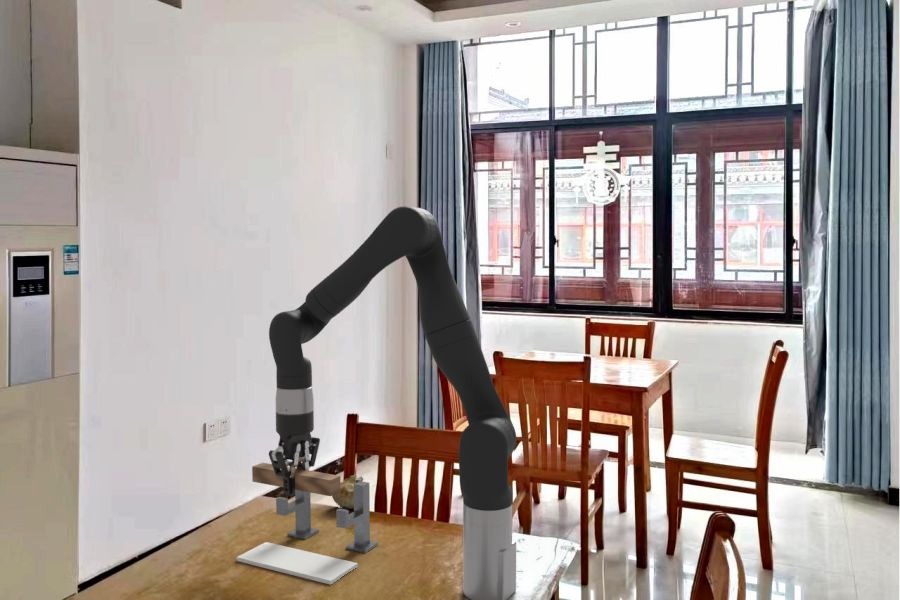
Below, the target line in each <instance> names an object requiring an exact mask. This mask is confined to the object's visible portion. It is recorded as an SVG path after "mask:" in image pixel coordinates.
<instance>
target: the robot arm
mask: <svg viewBox="0 0 900 600" xmlns="http://www.w3.org/2000/svg"><path fill="white" fill-rule="evenodd" d="M438 223H439V222H437V220H436V217H434V215H433V214H432V213H430V211H428V210H427V209H424V208H421V207H417V206H416V207H415V206H410V205H409V206H408V205H403V206H398V207H395V208H394V209H392V210H391V211H390V212H388V213H387V215H386V216H385V217H384V218H383V219H382V220H381V222H380V223H379V224H378V225H377V226H376V227H375V229H374V230H373V231H372V233H371V234H370V235H369V236H368V237H367V238H366V240H365V241H363V243H362V244H361V245H360V246H359V247H358V248H357V249H356V250H355V251H354V252H353V253H352V254H351V255H350V256H349V257H348V258H347V259H346V260H344V262H342V263H341V264H340V265H339V266H338V267H337V268H336V269H334V270H333V271H331V273H329V275H327V276H326V277H325V278H324V279H323V280H321V281H319V283H318V284H316V285H315V286H314V287H313V288H312V289H311V290H310V291H309V292H308V293H307V295H306V296H305V301H304V302H303V303H302V304H301V305H300V306H299V307H297V308H296V309H293V310H287V311H282V312H279V313H277V314H275V315H274V317H273V318H272V320H271V322H270V324H269V329H268V336H269V337H268V339H269V345H270V348H271V352H272V356H273V359H274V363H275V366H276V367H275V368H276V373H275V374H276V377H275V378H276V393H275V431H276V433H277V434H278V435H279V440H278V446H277V448H275V450H272V449H271V450H269V451H268V457H269V460H270V464H272V466H273V469H274V472H275V475H276V476H281V477H283V487H282V488H283V493H284V495H285V496H288V497H293V496H295V478H294V476H295V468H297V469H303V470H309V471H310V468H311V467H314V466H315V464H316V459H317V456H318V452H319V446H320V442H321V439H320V438H319V437H315V436H312V434H311V433H313V431H314V430H315V428H314V427H315V425H314V424H315V421H314V419H315V416H314V415H315V414H314V413H315V412H314V411H315V410H314V393H313V368H312V367H313V366H312V362H311V360H310V359H309V358H308V357H305V356H304V353H303V348H302V345H303V344H306V343H308V342H310V341H311V340H313V339H314V338H316V337H317V336H318V335H319V334H320V333H321V332H322V331H323V330H324V329H325V327H326V326H327V325H328V324H329V323H330V321H331V320H332V319H333V318H335V317H336V316H337V315H339V314H340V313H341V312H343V311H344V310H345V309H346V308H347V307H349V306H350V305H351V304H352V303H353V302H354V301H356V299H357V298H358V297H359V296H360V295H361V294H362V293H363V291H365V290H366V288H367V287H368V285H369V284H370V283H371V282H372V280H373V279H374V278H375V277H376V276H377V275H378V274H379V273H381V272H382V271H383V270H384V269H386V267H388V266H389V265H391V264H393V263H395V262H397V261H398V260H400V259H402V258H403V257H405V258H406V259H407V261H408V262H407V263H408V264H409V266H410V269H411V271H412V274H413V277H414V278H415V281H416V285H417V291H418V303H419V315H420V323H421V327H422V331H423V334H424V336H425V340H426V343H427V346H428V348H429V351H430V353H431V356H432V358H433V360H434V362H435V364H436V365H437V368H439V370H440V371H441V372H442V374H443V375H444V377H445V378H446V379H447V380H448V382H449V384H450V385H451V386H452V387H453V388H454V390H455V392H456V394H457V396H458V397H459V400H460V402H461V404H462V407H463V410H464V413H465V417H466V420H467V424H468V425H467V426H466V427H465V428H464V429H463V431H462V432H461V435H460V438H459V442H458V471H459V486H460V490H461V493H462V503H463V504H462V511H463V512H462V539H463V540H462V592H463V594H464V596H465V597H466V598H468V599H470V600H508V599H510V597H511V596H512V595H513V594H514V593H515V592H516V590H517V541H515V540H513V504H514V503H513V502H514V501H513V488H512V487H511V486H510V484H509V465H508V464H509V463H508V462H509V457H511V456H512V454H513V453H514V451H515V449H516V446H517V433H516V429H515V427H514V423H513V421H512V420H511V418H510V416H509V414H508V411H507V410H506V408H505V406H504V403H503V402H502V400H501V398H500V396H499V394H498V392H497V389H496V387H495V384H494V383H493V379H492V377H491V373H490V369H489V366H488V364H487V361H486V358H485V355H484V353H483V351H482V347H481V345H480V342H479V339H478V335H477V333H476V330H475V327H474V324H473V322H472V319H471V317H470V314H469V312H468V309H467V307H466V304H465V302H464V299H463V297H462V294H461V292H460V289H459V287H458V285H457V282H456V280H455V278H454V275H453V273H452V271H451V267H450V263H449V260H448V257H447V253H446V249H445V246H444V245H445V244H444V242H443V237H442V234H441V233H442V232H441V230H440V227H439V224H438ZM288 467H290V471H288ZM280 469H281V470H280Z"/></svg>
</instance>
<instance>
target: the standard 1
mask: <svg viewBox="0 0 900 600" xmlns="http://www.w3.org/2000/svg"><path fill="white" fill-rule="evenodd" d="M275 503H276V504H275V506H276V507H275V508H276V509H275V511H276V513H275V514H276V515H277V516H284V517H286V516H288V515H291V514H292V513H294V512H295V513H294V514H295V518H294V519H295V529H293V530H291V531H288V532H287V533H286V534H287V536H288V537H291V538H295V539H301V540H308V539H309V538H312V537H313V536H314V535H316V534H319V533H320V529H319V528H313V527H312V522H311V521H312V515H311V512H312V511H311V510H312V509H311V507H312V506H311V493H310V492H305V491H300V490H295V495H294V500H292V501H290V502H289V498H287V497H282V496H278V497H275Z"/></svg>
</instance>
